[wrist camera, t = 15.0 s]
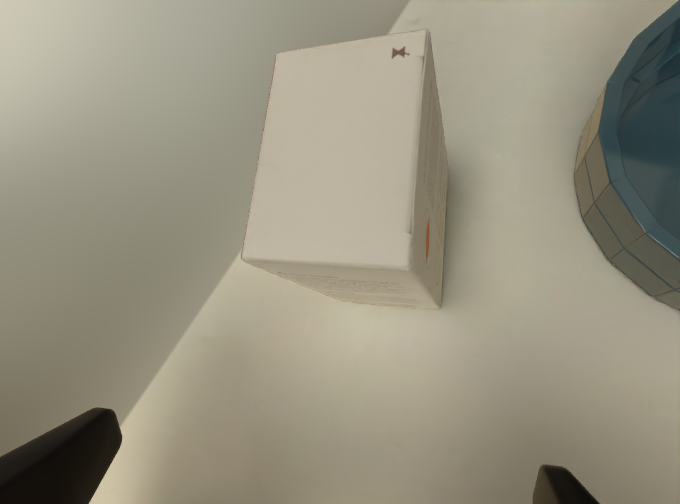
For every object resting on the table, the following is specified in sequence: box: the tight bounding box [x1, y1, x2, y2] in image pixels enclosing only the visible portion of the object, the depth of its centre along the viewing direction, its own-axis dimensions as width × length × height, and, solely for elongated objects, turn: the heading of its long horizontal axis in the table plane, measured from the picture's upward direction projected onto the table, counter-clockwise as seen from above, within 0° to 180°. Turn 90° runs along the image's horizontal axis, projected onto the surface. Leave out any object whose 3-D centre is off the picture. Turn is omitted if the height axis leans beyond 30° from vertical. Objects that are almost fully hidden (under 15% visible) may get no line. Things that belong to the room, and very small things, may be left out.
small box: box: [241, 29, 448, 309], centre depth 17 cm, size 8×6×10 cm
